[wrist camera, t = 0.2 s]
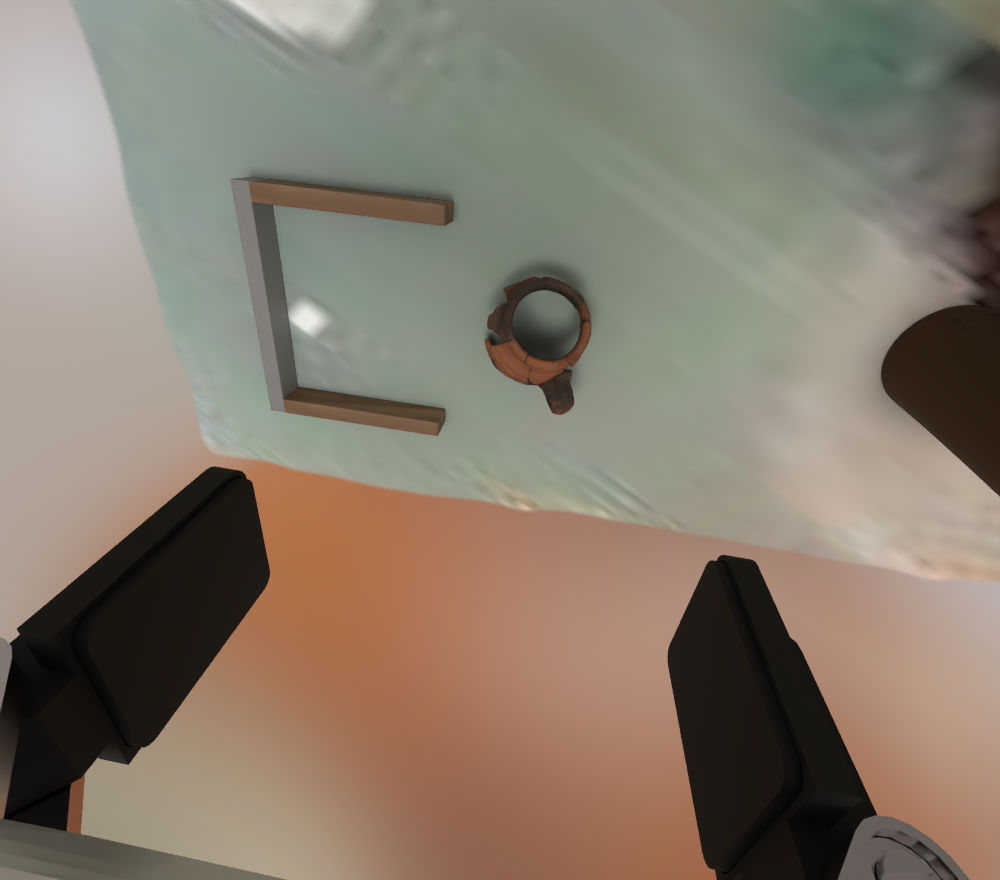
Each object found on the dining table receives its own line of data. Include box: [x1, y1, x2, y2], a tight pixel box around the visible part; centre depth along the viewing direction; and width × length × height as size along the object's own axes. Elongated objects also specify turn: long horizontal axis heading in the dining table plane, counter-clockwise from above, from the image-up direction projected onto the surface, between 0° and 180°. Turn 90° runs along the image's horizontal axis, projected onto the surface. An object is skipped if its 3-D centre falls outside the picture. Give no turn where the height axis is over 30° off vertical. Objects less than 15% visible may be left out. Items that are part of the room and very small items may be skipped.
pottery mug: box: [485, 277, 591, 415], centre depth 42 cm, size 12×10×8 cm
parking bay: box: [230, 177, 453, 436], centre depth 44 cm, size 21×18×3 cm
